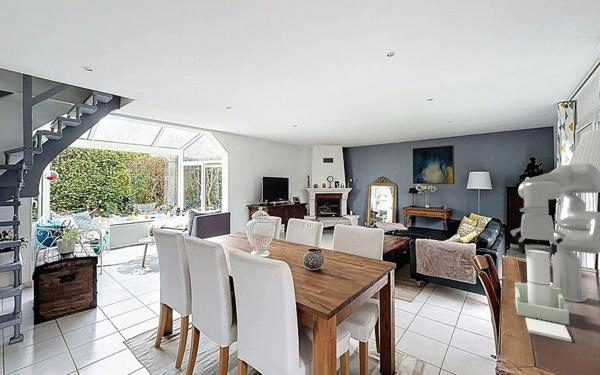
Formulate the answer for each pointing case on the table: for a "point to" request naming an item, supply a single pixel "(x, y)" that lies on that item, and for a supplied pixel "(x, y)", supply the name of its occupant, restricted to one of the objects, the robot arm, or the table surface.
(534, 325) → the tile
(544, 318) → the frame
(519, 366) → the table surface
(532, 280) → the cylindrical container
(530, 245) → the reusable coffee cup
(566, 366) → the table surface
